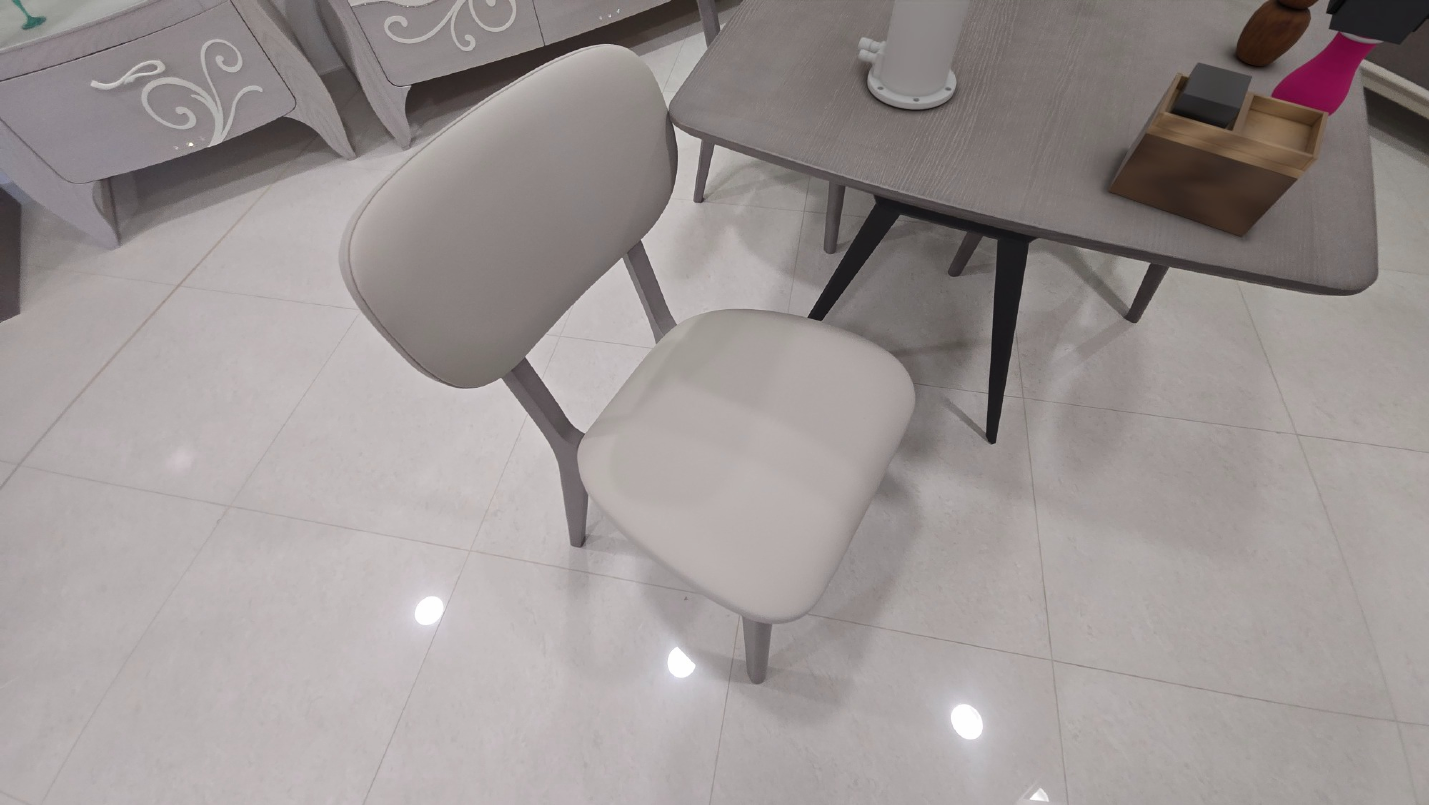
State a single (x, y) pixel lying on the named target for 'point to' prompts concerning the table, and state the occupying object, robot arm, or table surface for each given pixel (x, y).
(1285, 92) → the pink bowling pin
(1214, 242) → the table surface
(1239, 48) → the wooden figurine
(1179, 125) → the wooden divided box
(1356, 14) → the black block
